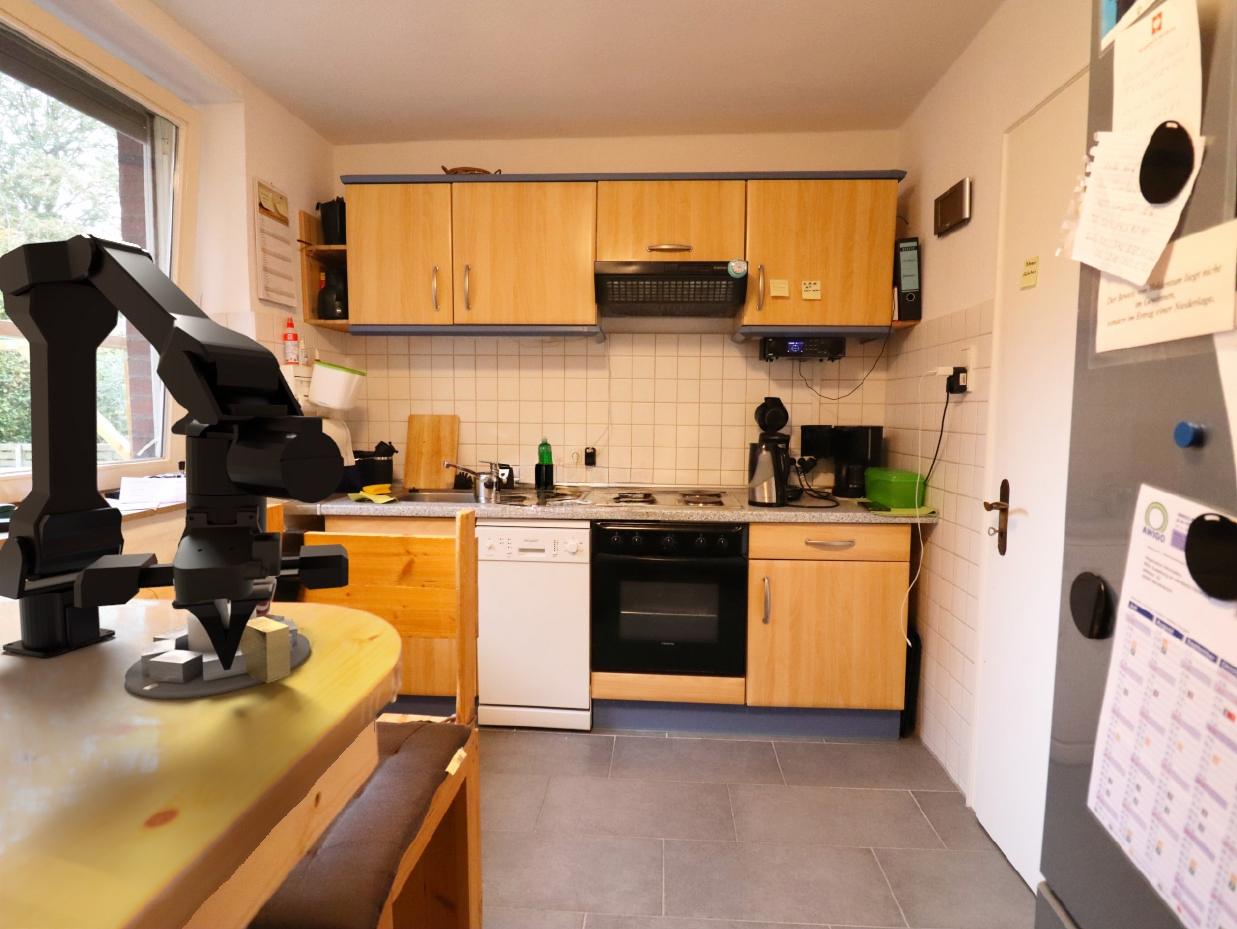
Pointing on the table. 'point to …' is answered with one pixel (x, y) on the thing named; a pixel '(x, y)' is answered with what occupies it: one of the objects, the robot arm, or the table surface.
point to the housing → (197, 685)
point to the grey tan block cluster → (256, 656)
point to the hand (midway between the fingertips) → (228, 668)
